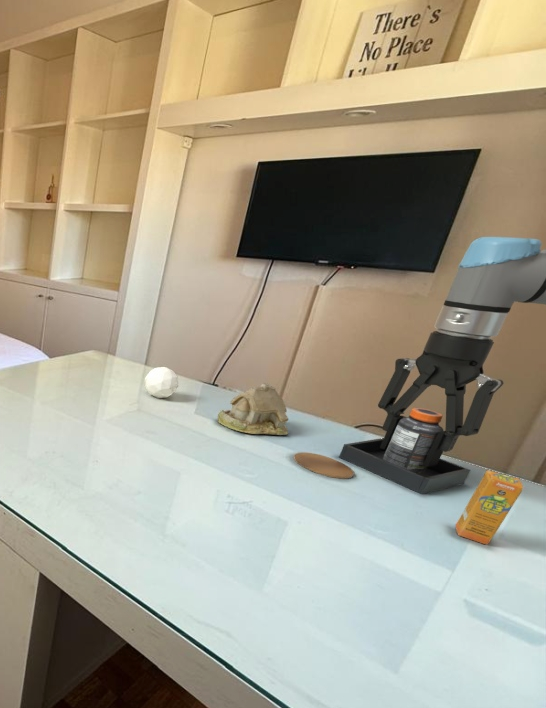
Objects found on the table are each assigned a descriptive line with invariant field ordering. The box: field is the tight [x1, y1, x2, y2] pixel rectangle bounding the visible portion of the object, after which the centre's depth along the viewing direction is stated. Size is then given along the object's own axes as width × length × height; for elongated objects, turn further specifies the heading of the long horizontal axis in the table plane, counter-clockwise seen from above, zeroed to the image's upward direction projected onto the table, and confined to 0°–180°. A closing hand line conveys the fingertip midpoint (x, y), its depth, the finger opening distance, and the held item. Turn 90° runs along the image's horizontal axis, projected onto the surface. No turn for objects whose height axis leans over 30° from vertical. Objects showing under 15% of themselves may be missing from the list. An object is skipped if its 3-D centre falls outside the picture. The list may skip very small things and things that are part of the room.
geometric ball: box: [144, 366, 179, 399], centre depth 114 cm, size 8×8×8 cm
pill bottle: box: [383, 407, 444, 474], centre depth 83 cm, size 6×6×11 cm
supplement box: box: [455, 470, 524, 546], centre depth 65 cm, size 3×3×10 cm
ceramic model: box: [217, 382, 289, 436], centre depth 99 cm, size 14×11×10 cm
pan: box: [338, 437, 471, 495], centre depth 85 cm, size 13×13×3 cm
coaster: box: [293, 452, 354, 480], centre depth 85 cm, size 9×9×1 cm
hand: (407, 455), depth 84 cm, fingers closed on pill bottle, 6 cm apart
